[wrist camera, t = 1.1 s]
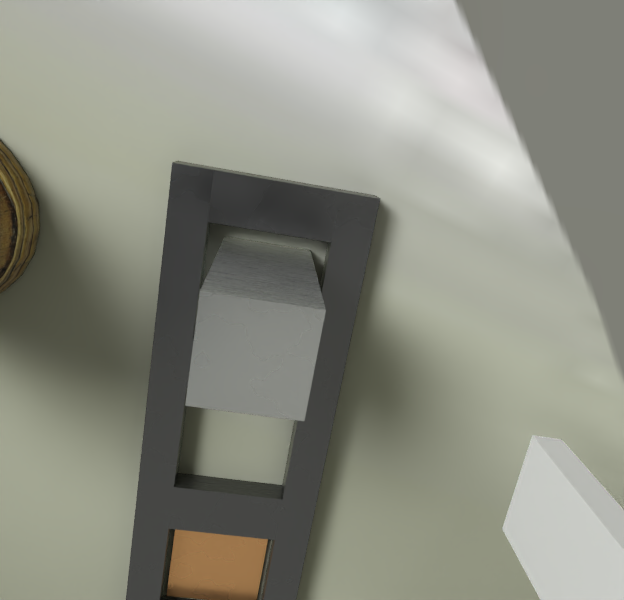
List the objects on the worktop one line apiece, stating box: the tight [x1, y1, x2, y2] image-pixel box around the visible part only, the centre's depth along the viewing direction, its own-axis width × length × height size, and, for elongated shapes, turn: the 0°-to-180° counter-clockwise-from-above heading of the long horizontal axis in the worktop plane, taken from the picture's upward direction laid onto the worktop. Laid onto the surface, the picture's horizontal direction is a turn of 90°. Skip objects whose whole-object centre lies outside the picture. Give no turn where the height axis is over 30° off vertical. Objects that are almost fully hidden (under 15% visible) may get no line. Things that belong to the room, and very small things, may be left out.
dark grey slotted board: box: [126, 161, 380, 600], centre depth 29 cm, size 9×26×1 cm, turn 170°
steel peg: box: [185, 236, 326, 421], centre depth 23 cm, size 4×4×9 cm
